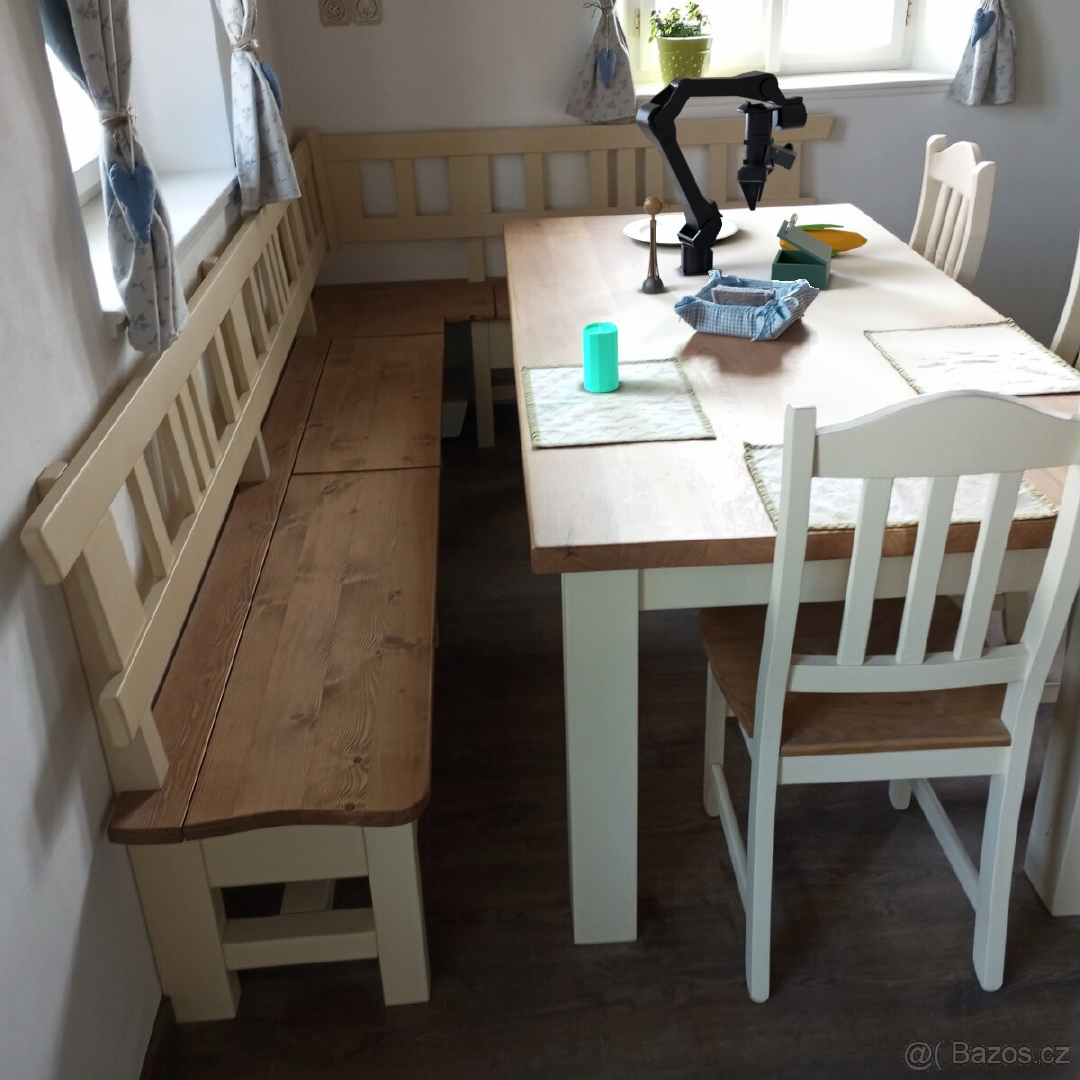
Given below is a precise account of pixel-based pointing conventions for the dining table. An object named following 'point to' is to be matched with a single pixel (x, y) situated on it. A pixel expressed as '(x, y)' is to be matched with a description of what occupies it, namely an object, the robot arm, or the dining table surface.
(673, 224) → the plate
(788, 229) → the lid
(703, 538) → the dining table surface
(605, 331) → the candle
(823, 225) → the corn
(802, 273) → the chest
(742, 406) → the dining table surface
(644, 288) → the wooden tabletop sculpture
